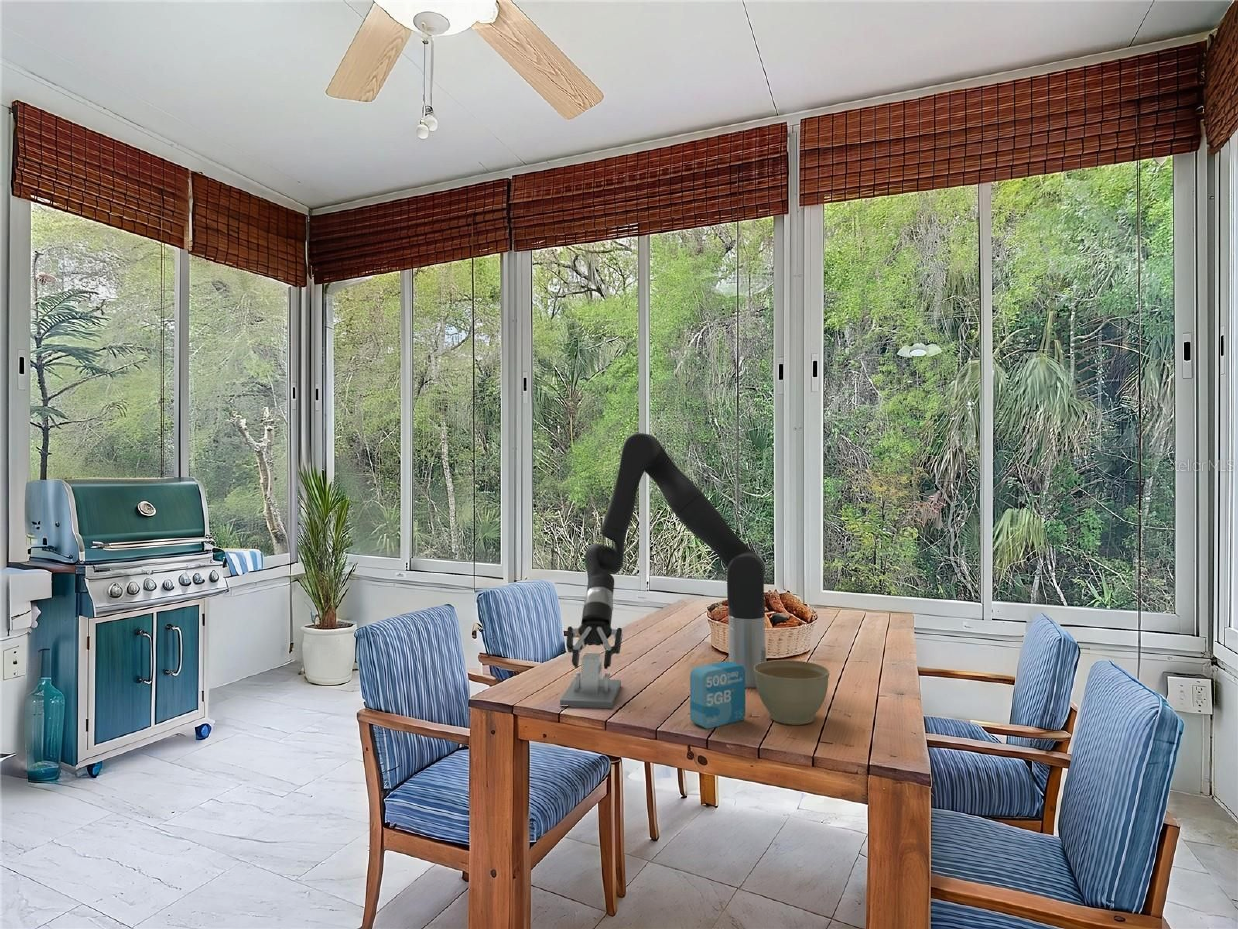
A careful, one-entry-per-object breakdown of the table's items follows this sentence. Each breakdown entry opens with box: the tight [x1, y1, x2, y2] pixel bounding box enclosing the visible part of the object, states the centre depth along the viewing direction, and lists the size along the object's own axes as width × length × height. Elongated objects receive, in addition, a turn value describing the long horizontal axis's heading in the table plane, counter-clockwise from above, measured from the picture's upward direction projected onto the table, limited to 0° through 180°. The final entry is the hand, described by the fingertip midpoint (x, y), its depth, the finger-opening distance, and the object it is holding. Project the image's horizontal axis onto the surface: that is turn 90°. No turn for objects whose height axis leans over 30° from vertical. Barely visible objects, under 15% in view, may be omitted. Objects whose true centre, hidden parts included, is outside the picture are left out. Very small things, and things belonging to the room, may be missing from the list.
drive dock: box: [559, 671, 622, 709], centre depth 171 cm, size 12×18×5 cm, turn 173°
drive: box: [580, 652, 603, 693], centre depth 171 cm, size 4×6×8 cm
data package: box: [689, 660, 746, 730], centre depth 152 cm, size 12×4×12 cm, turn 123°
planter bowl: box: [754, 659, 830, 726], centre depth 154 cm, size 16×16×11 cm
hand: (590, 666), depth 169 cm, fingers open, 6 cm apart
